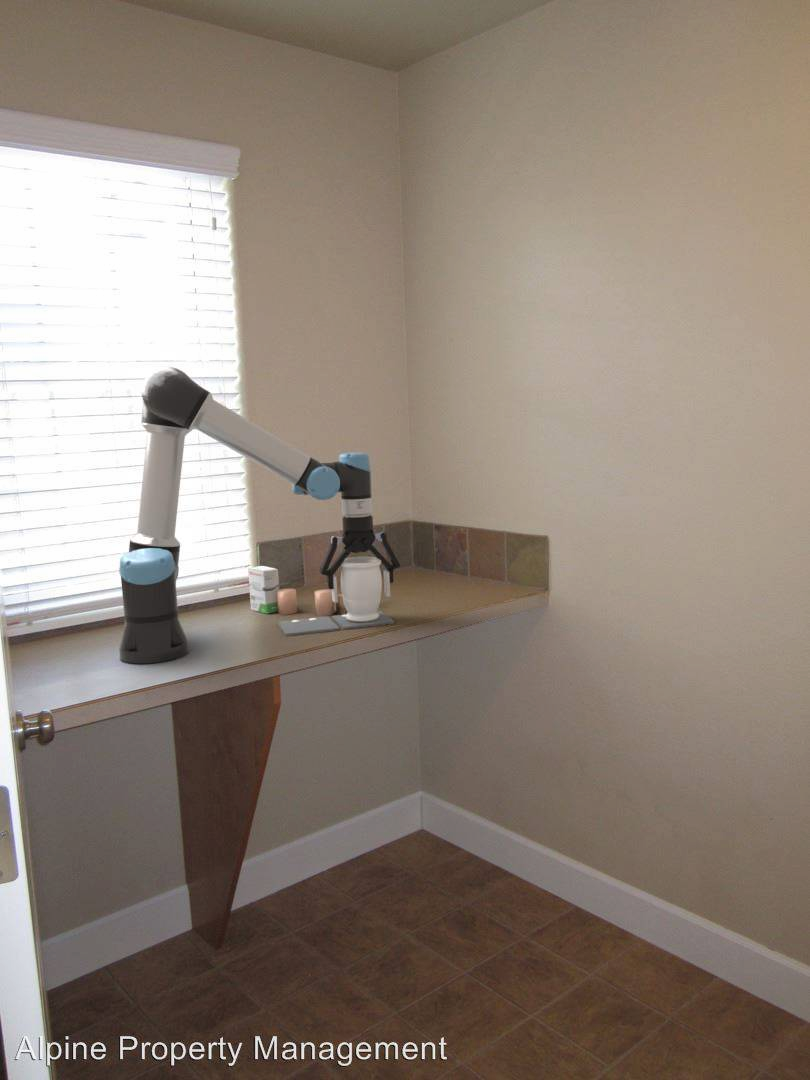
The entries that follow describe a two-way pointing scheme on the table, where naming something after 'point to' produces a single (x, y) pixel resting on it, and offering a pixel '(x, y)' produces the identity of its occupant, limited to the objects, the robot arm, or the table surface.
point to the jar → (361, 588)
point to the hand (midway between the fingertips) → (361, 598)
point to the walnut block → (340, 605)
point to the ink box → (263, 589)
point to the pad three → (348, 624)
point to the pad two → (307, 626)
